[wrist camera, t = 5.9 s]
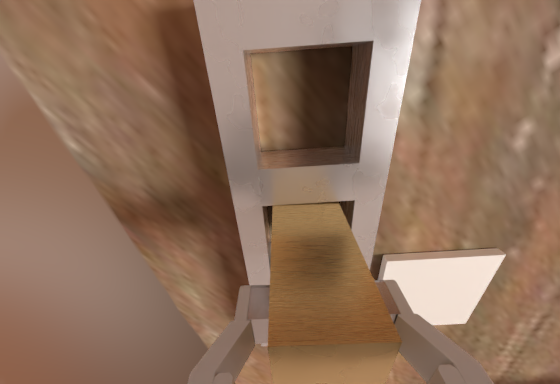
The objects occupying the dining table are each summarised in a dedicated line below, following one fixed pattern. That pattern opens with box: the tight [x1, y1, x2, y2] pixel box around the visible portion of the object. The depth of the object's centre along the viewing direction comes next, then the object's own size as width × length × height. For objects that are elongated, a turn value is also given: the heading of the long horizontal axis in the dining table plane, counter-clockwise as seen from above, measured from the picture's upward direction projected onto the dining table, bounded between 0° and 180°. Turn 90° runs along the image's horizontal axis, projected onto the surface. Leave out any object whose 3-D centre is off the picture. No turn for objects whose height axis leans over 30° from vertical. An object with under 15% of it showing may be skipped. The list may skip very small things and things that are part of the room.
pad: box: [378, 248, 506, 325], centre depth 22 cm, size 10×10×1 cm
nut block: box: [268, 201, 402, 384], centre depth 11 cm, size 4×4×8 cm
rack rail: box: [193, 0, 421, 346], centre depth 16 cm, size 26×9×3 cm, turn 4°
